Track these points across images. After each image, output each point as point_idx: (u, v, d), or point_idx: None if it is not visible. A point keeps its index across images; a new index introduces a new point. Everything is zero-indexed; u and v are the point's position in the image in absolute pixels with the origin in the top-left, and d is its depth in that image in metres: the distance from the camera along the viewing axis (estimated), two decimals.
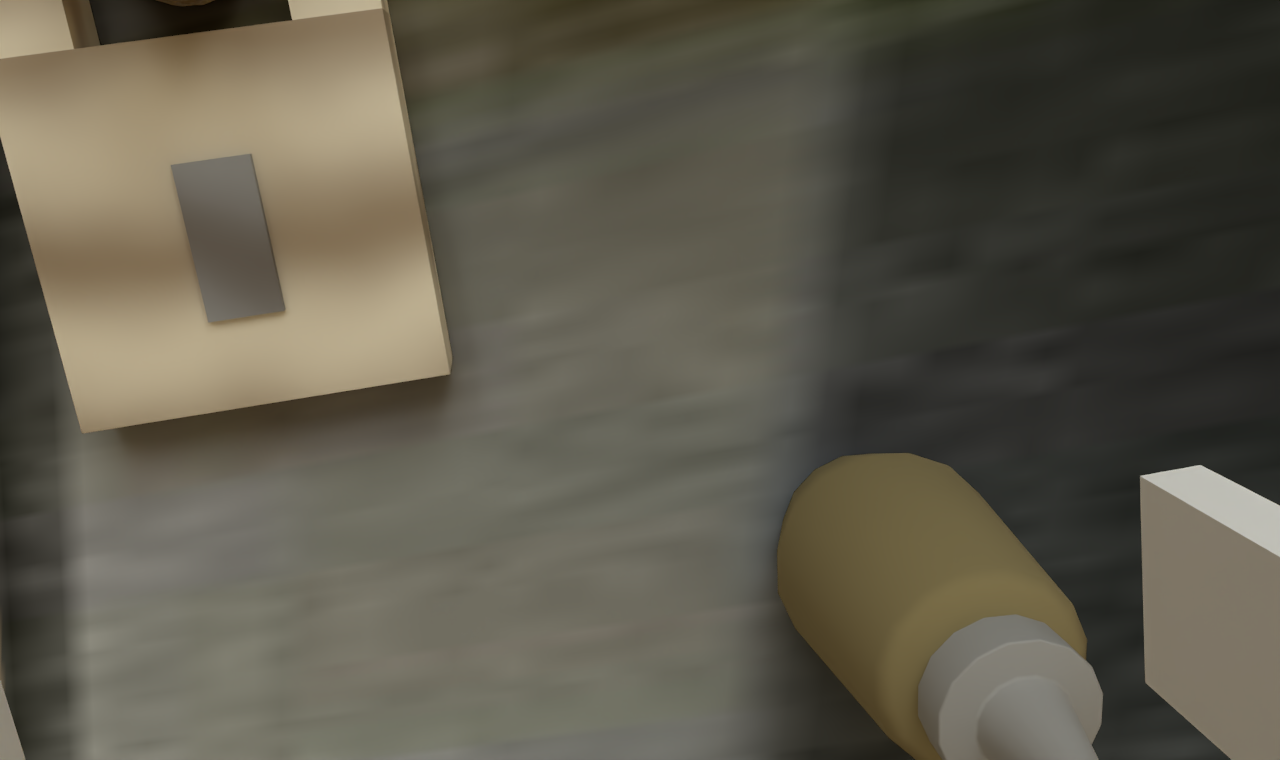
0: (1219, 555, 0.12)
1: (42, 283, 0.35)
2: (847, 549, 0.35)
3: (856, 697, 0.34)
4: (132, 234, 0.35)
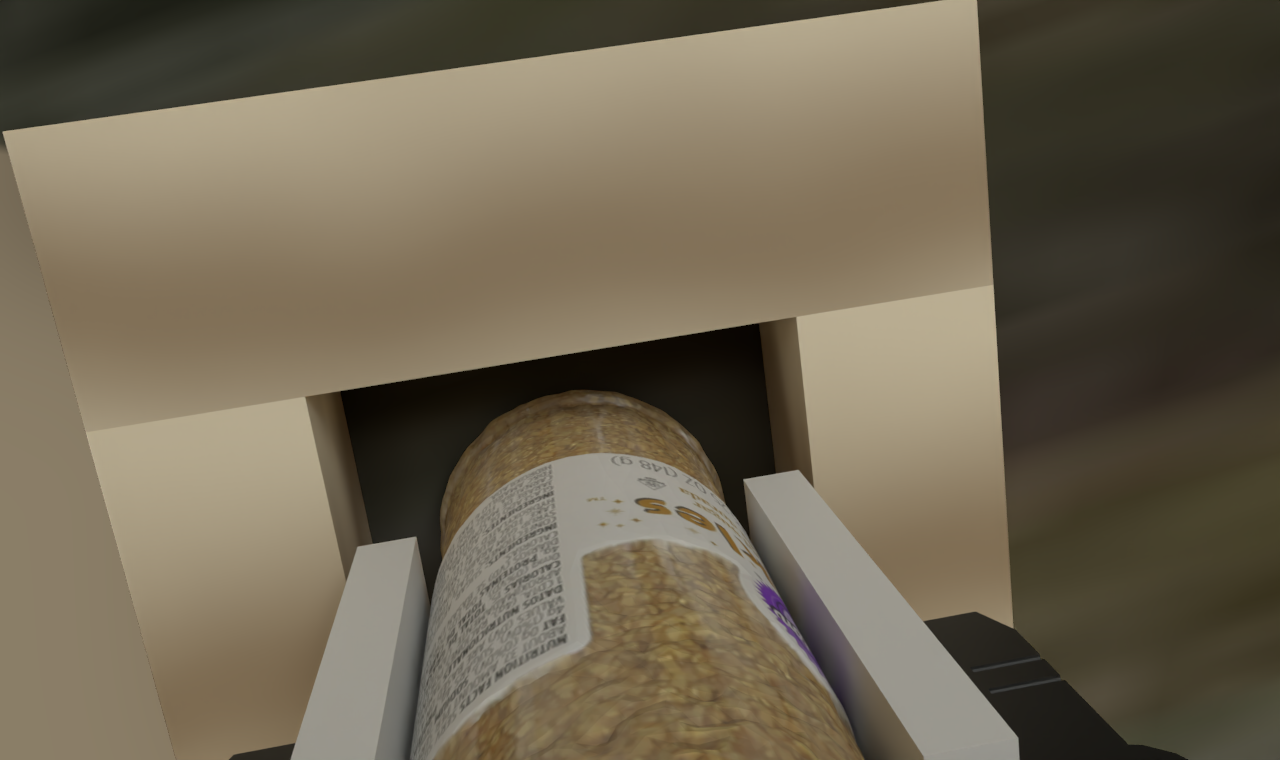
0: (773, 549, 0.13)
1: None
2: None
3: None
4: None
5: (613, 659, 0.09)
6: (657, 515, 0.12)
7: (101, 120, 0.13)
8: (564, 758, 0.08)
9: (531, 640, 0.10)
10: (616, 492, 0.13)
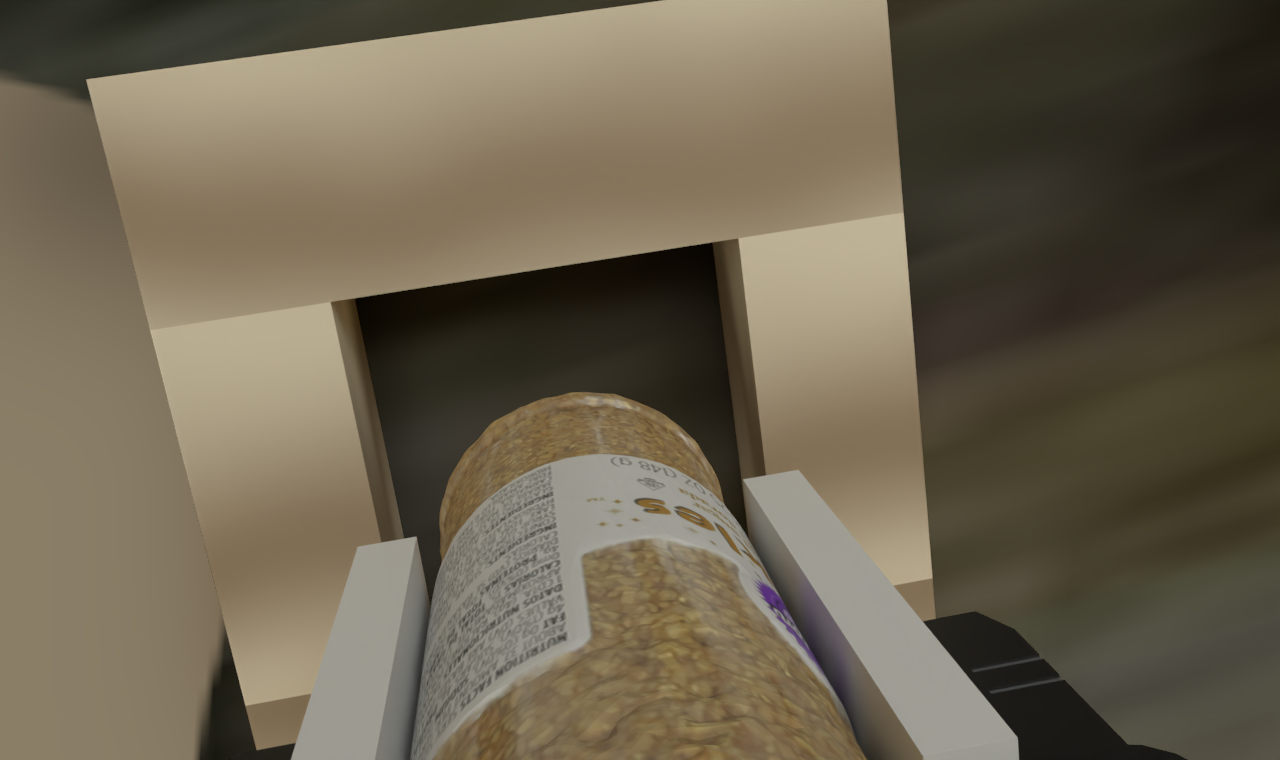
0: (772, 549, 0.13)
1: None
2: None
3: None
4: None
5: (612, 657, 0.09)
6: (656, 515, 0.12)
7: (166, 70, 0.16)
8: (563, 756, 0.08)
9: (531, 638, 0.10)
10: (616, 492, 0.13)
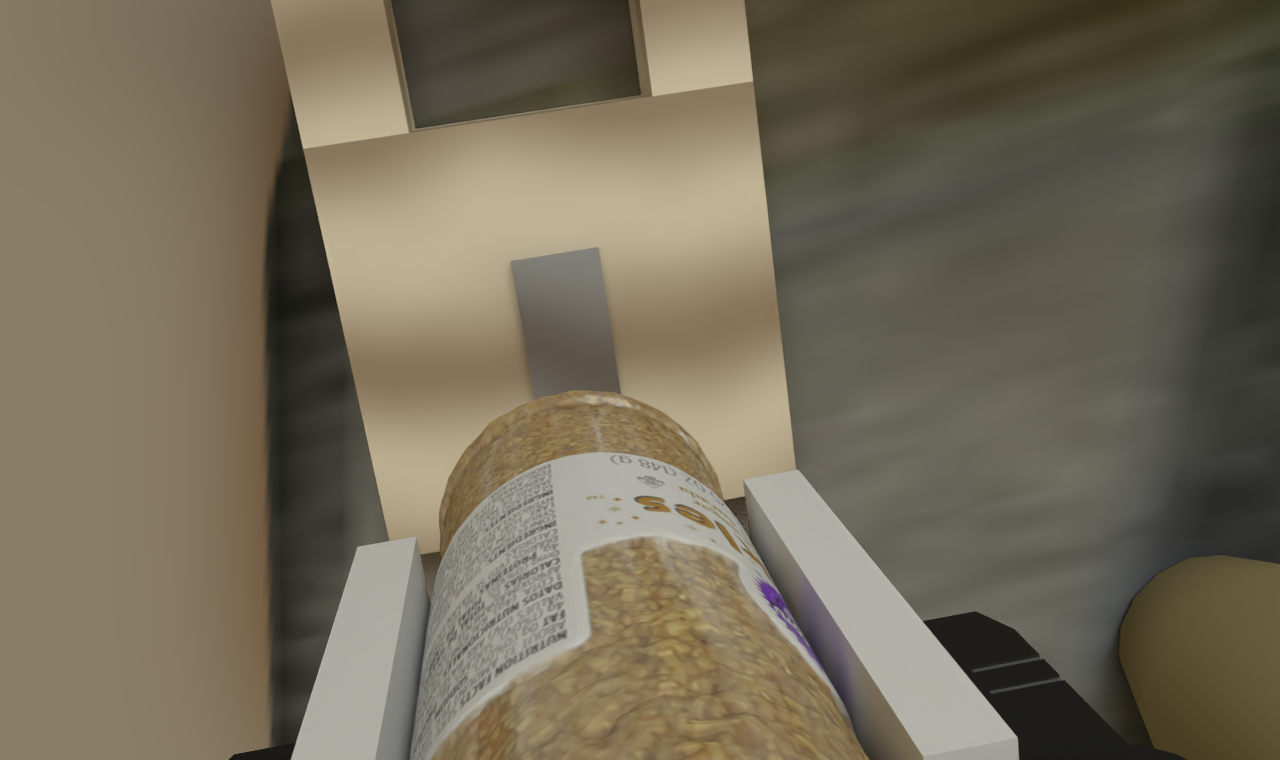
0: (772, 549, 0.13)
1: (357, 395, 0.31)
2: (1274, 693, 0.31)
3: None
4: (461, 340, 0.31)
5: (612, 654, 0.09)
6: (656, 514, 0.12)
7: None
8: (563, 753, 0.08)
9: (530, 636, 0.10)
10: (615, 489, 0.13)
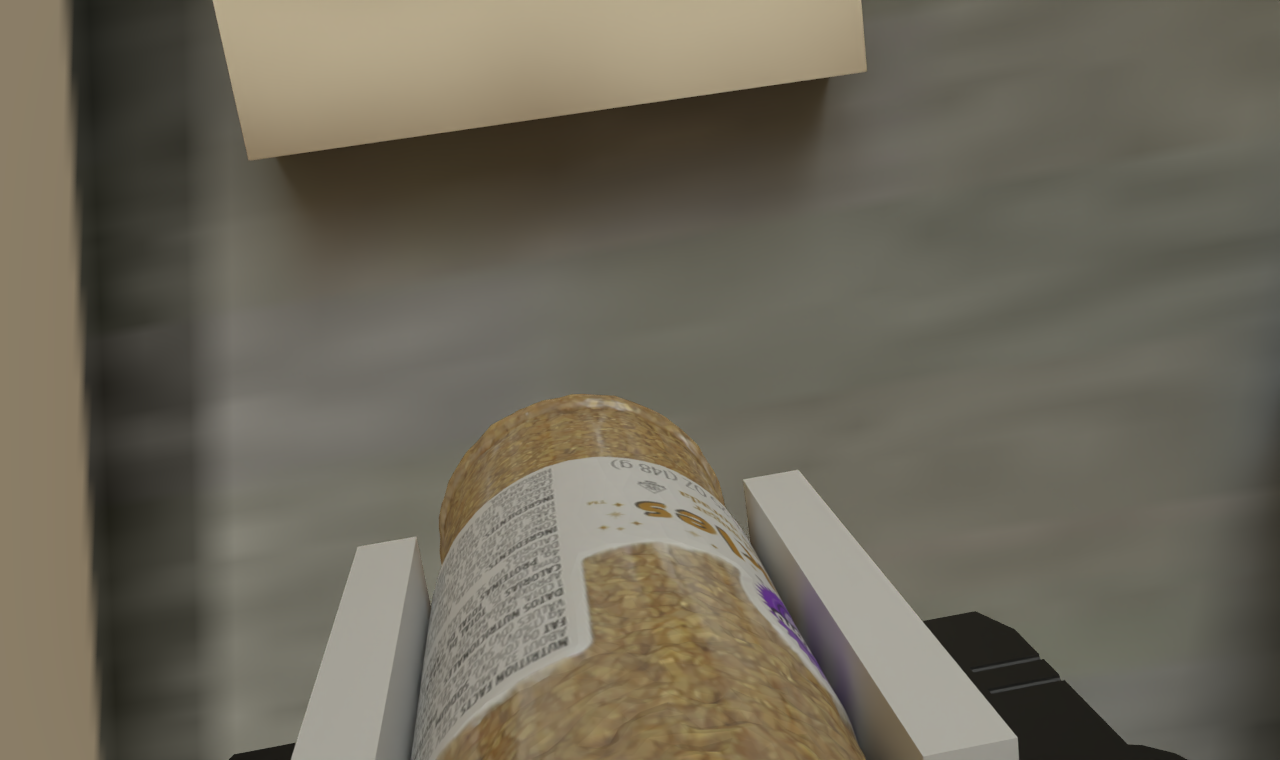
0: (773, 549, 0.13)
1: None
2: None
3: None
4: None
5: (614, 662, 0.09)
6: (657, 518, 0.12)
7: None
8: None
9: (530, 644, 0.10)
10: (616, 495, 0.13)
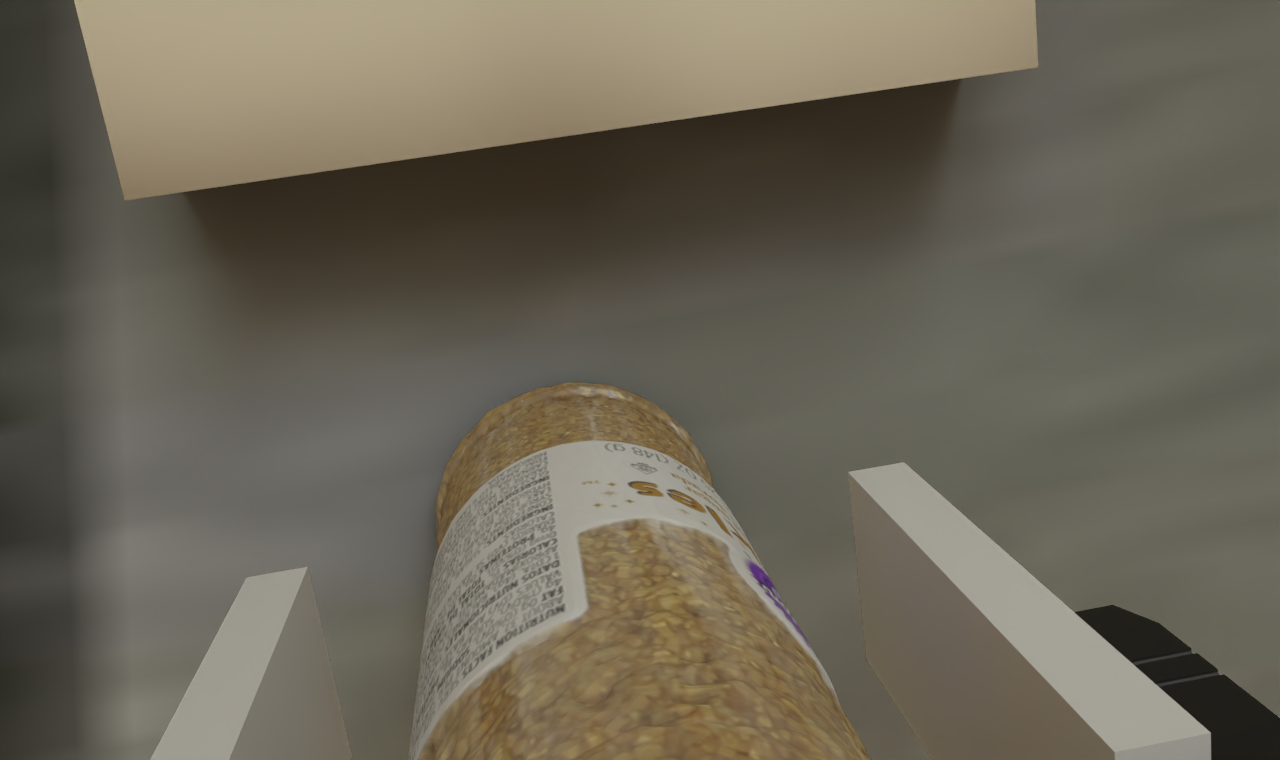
0: (889, 542, 0.13)
1: None
2: None
3: None
4: None
5: (609, 624, 0.09)
6: (649, 496, 0.13)
7: None
8: (563, 716, 0.08)
9: (530, 611, 0.10)
10: (610, 475, 0.13)
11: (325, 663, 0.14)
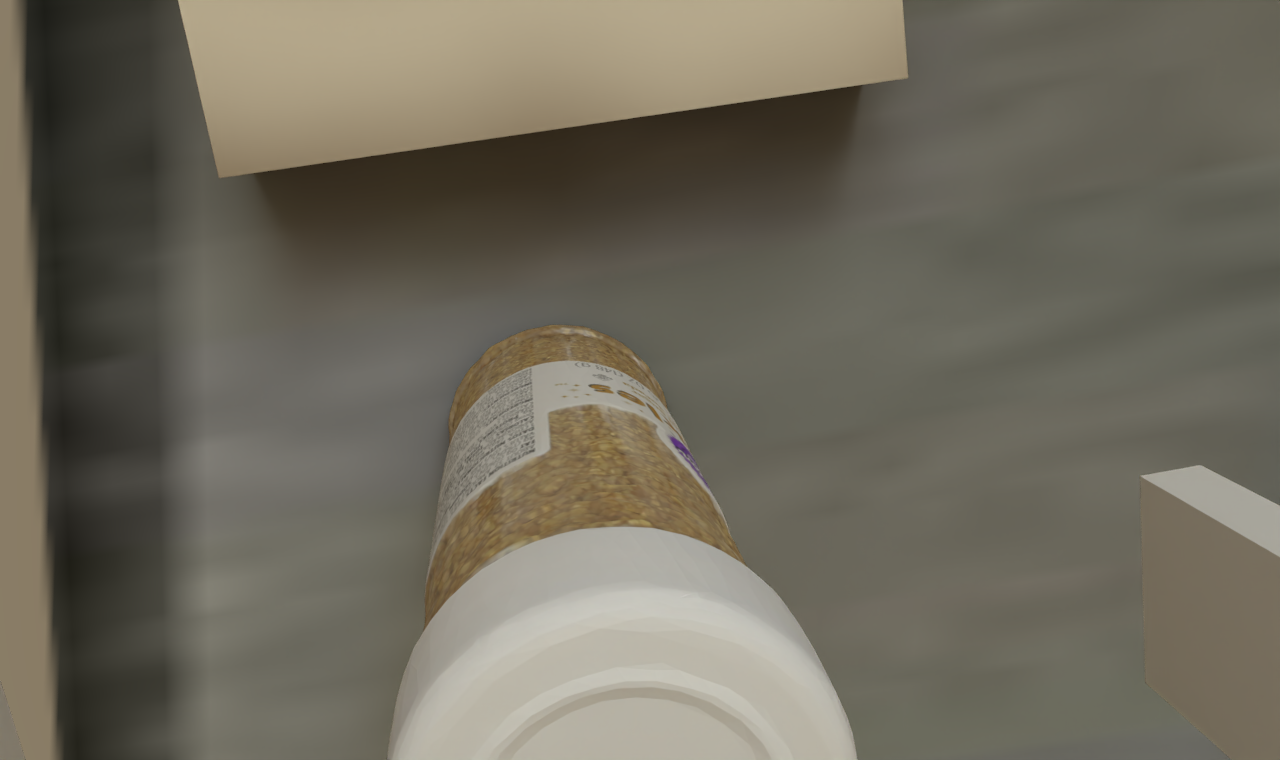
0: (1219, 555, 0.12)
1: None
2: None
3: None
4: None
5: (563, 457, 0.14)
6: (602, 392, 0.17)
7: None
8: (529, 500, 0.13)
9: (512, 455, 0.15)
10: (575, 380, 0.18)
11: None
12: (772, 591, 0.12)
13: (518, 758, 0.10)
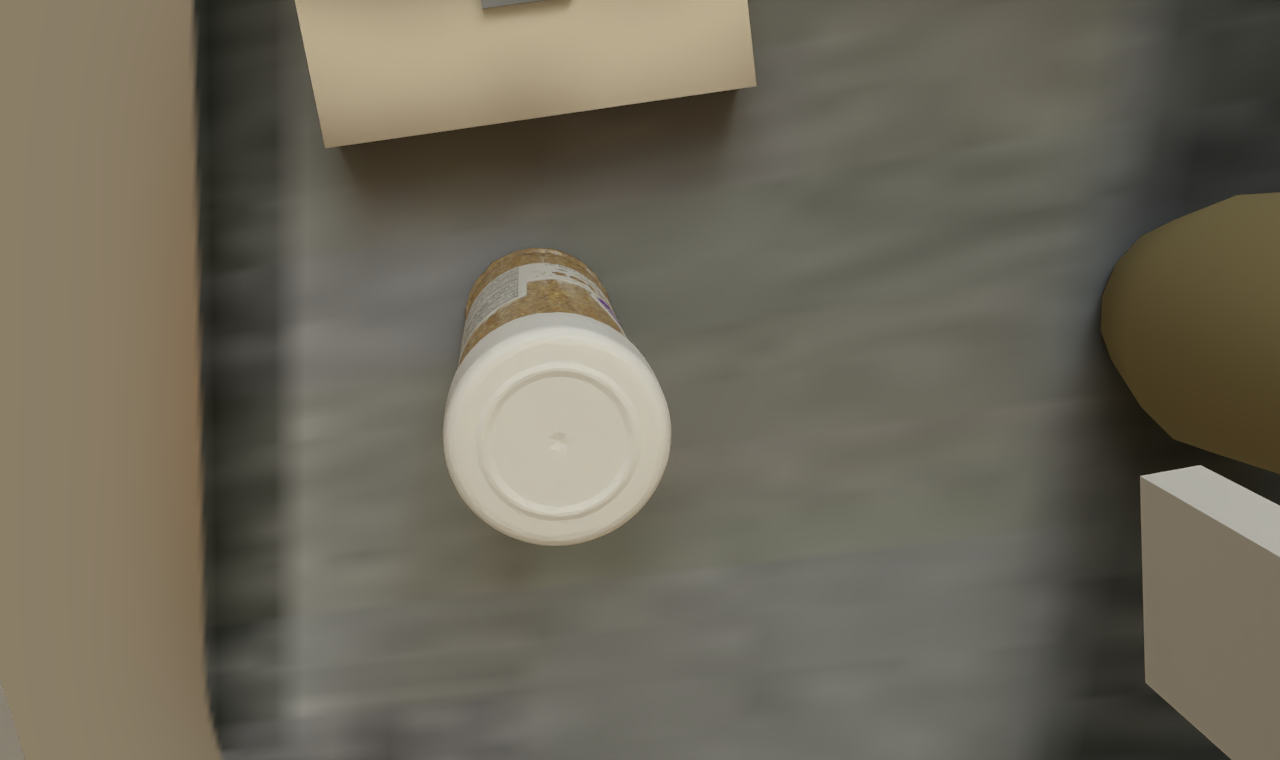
0: (1219, 555, 0.12)
1: None
2: (1262, 274, 0.29)
3: None
4: None
5: (533, 297, 0.26)
6: (560, 275, 0.29)
7: None
8: (513, 313, 0.25)
9: (505, 299, 0.27)
10: (545, 270, 0.30)
11: None
12: (634, 346, 0.23)
13: (506, 405, 0.22)
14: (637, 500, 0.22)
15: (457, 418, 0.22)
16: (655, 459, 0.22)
